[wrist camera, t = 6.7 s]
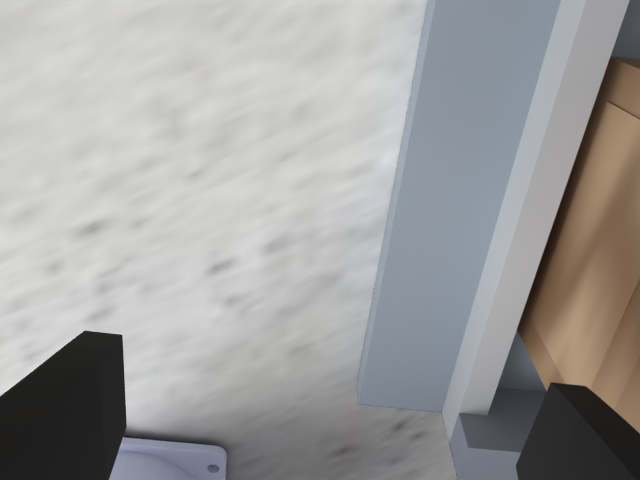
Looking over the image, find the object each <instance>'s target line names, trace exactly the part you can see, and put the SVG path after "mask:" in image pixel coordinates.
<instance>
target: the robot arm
mask: <svg viewBox="0 0 640 480" xmlns="http://www.w3.org/2000/svg"><path fill="white" fill-rule="evenodd" d="M125 429H126V405H125V383H124V362H123V340H122V335H118V334H109V333H100V332H91V331H84V332H82V333H81V334H80V335H78V336H77V337H76V338H74V339H73V340H72V341H71V342H69V343H68V344H67V345H65V346H64V347H63V348H61V349H60V350H59V351H58V352H56V353H55V354H54V355H53V356H51V357H50V358H49V359H48V360H46V361H45V362H44V363H43V364H41V365H40V366H39V367H37V368H36V369H35V370H34V371H32V372H31V373H30V374H29V375H27V376H26V377H25V378H23V379H22V380H21V381H20V382H18V383H17V384H16V385H15V386H13V387H12V388H11V389H9V390H8V391H7V392H5V393H4V394H3V395H1V396H0V480H226V461H227V454H226V451H225V450H224V449H223V448H221V447H219V446H214V445H203V444H192V443H181V442H170V441H159V440H148V439H137V438H126V437H123V435H124V432H125ZM213 464H214V465H213ZM516 470H517V475H518V480H640V433H639V432H638V431H636V430H635V429H634V428H633V427H632V426H631V425H630V424H629V423H628V422H627V421H626V420H624V419H623V418H622V417H621V416H620V415H619V414H618V413H617V412H616V411H614V410H613V409H612V408H611V407H610V406H609V405H608V404H607V403H605V402H604V401H603V400H602V399H601V398H600V397H598V396H597V395H596V394H595V393H594V392H592V391H591V390H590V389H589V388H588V387H586V386H581V385H571V384H562V383H553V382H551V383H550V385H549V388H548V390H547V392H546V395H545V397H544V400H543V402H542V404H541V407H540V409H539V411H538V414H537V416H536V419H535V421H534V423H533V426H532V428H531V431H530V433H529V435H528V438H527V440H526V442H525V445H524V447H523V450H522V452H521V454H520V457H519V459H518V461H517V464H516Z"/></svg>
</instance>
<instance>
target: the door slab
mask: <svg viewBox="0 0 640 480" xmlns="http://www.w3.org/2000/svg"><path fill="white" fill-rule="evenodd" d="M517 331H518V333H519V335H520V337H521V339H522V342H523V344H524V346H525V348H526V350H527V352H528V354H529V356H530V358H531V360H532V362H533V364H534V366H535V368H536V370H537V372H538V374H539V377H540V379H541V381H542V383H543V385H544V387H545V389H546V391H547V390H548V388H549V385H550V383H551V382H553V383H562V384H571V385H581V386H586V387H588V388H589V389H590V390H591V391H592V392H594V393H595V394H596V395H597V396H598V397H600V398H601V399H602V400H603V401H604V402H605V403H607V404H608V405H609V406H610V407H611V408H612V409H613V410H614V411H616V412H617V413H618V414H619V415H620V416H621V417H622V418H623V419H624V420H626V421H627V422H628V423H629V424H630V425H631V426H632V427H633V428H634V429H635V430H636V431H638V432H639V433H640V60H639V59H631V58H622V57H614V56H610V59H609V62H608V65H607V68H606V71H605V74H604V77H603V80H602V82H601V85H600V88H599V91H598V94H597V97H596V100H595V103H594V106H593V109H592V112H591V114H590V117H589V120H588V123H587V126H586V129H585V132H584V135H583V138H582V141H581V144H580V147H579V149H578V152H577V155H576V158H575V161H574V164H573V167H572V170H571V173H570V176H569V179H568V182H567V184H566V187H565V190H564V193H563V196H562V199H561V202H560V205H559V208H558V211H557V214H556V217H555V219H554V222H553V225H552V228H551V231H550V234H549V237H548V240H547V243H546V246H545V249H544V252H543V254H542V257H541V260H540V263H539V266H538V269H537V272H536V275H535V278H534V281H533V284H532V287H531V289H530V292H529V295H528V298H527V301H526V304H525V307H524V310H523V313H522V316H521V319H520V322H519V324H518V327H517Z"/></svg>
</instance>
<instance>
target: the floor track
mask: <svg viewBox="0 0 640 480" xmlns="http://www.w3.org/2000/svg"><path fill="white" fill-rule="evenodd" d="M610 56H614V57H622V58H631V59H639V60H640V0H428V3H427V8H426V13H425V19H424V24H423V30H422V35H421V40H420V46H419V51H418V57H417V62H416V67H415V73H414V78H413V83H412V89H411V94H410V100H409V105H408V110H407V116H406V121H405V127H404V132H403V137H402V143H401V148H400V154H399V159H398V164H397V170H396V175H395V181H394V186H393V191H392V197H391V202H390V208H389V213H388V218H387V224H386V229H385V234H384V240H383V245H382V251H381V256H380V261H379V267H378V272H377V278H376V283H375V288H374V294H373V299H372V305H371V310H370V315H369V321H368V326H367V332H366V337H365V342H364V348H363V353H362V359H361V364H360V369H359V375H358V380H357V390H358V405H368V406H379V407H390V408H400V409H411V410H421V411H432V412H442V416H443V420H444V424H445V428H446V432H447V437H448V441H449V445H450V449H451V453H452V458H453V462H454V466H455V470H456V474H457V479H459V480H518V475H517V470H516V464H517V461H518V459H519V457H520V454H521V452H522V450H523V447H524V445H525V442H526V440H527V438H528V435H529V433H530V431H531V428H532V426H533V423H534V421H535V419H536V416H537V414H538V411H539V409H540V407H541V404H542V402H543V400H544V397H545V395H546V392H547V391H546V389H545V387H544V385H543V383H542V381H541V379H540V377H539V374H538V372H537V370H536V368H535V366H534V364H533V362H532V360H531V358H530V356H529V354H528V352H527V350H526V348H525V346H524V344H523V342H522V339H521V337H520V335H519V333H518V331H517V327H518V324H519V322H520V319H521V316H522V313H523V310H524V307H525V304H526V301H527V298H528V295H529V292H530V289H531V287H532V284H533V281H534V278H535V275H536V272H537V269H538V266H539V263H540V260H541V257H542V254H543V252H544V249H545V246H546V243H547V240H548V237H549V234H550V231H551V228H552V225H553V222H554V219H555V217H556V214H557V211H558V208H559V205H560V202H561V199H562V196H563V193H564V190H565V187H566V184H567V182H568V179H569V176H570V173H571V170H572V167H573V164H574V161H575V158H576V155H577V152H578V149H579V147H580V144H581V141H582V138H583V135H584V132H585V129H586V126H587V123H588V120H589V117H590V114H591V112H592V109H593V106H594V103H595V100H596V97H597V94H598V91H599V88H600V85H601V82H602V80H603V77H604V74H605V71H606V68H607V65H608V62H609V59H610Z"/></svg>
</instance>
